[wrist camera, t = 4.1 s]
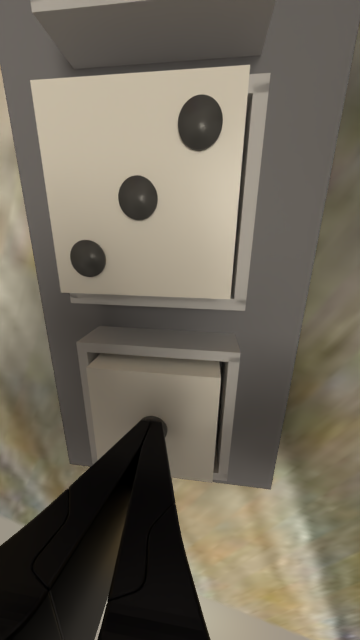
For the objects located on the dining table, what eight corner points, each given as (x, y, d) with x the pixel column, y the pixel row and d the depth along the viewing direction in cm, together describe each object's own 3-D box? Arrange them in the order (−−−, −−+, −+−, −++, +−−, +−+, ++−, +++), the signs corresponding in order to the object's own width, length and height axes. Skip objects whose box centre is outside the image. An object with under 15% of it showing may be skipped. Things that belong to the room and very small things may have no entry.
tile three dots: (237, 117, 7) (251, 60, 5) (225, 287, 8) (230, 300, 6) (77, 125, 7) (26, 77, 5) (93, 283, 9) (59, 292, 7)
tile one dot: (218, 353, 10) (221, 379, 8) (211, 443, 11) (212, 485, 9) (108, 346, 10) (84, 369, 8) (116, 433, 12) (97, 470, 10)
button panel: (409, -389, 6) (704, -1318, 2) (264, 465, 14) (281, 531, 11) (-23, -276, 7) (-237, -763, 4) (82, 444, 15) (48, 497, 12)
